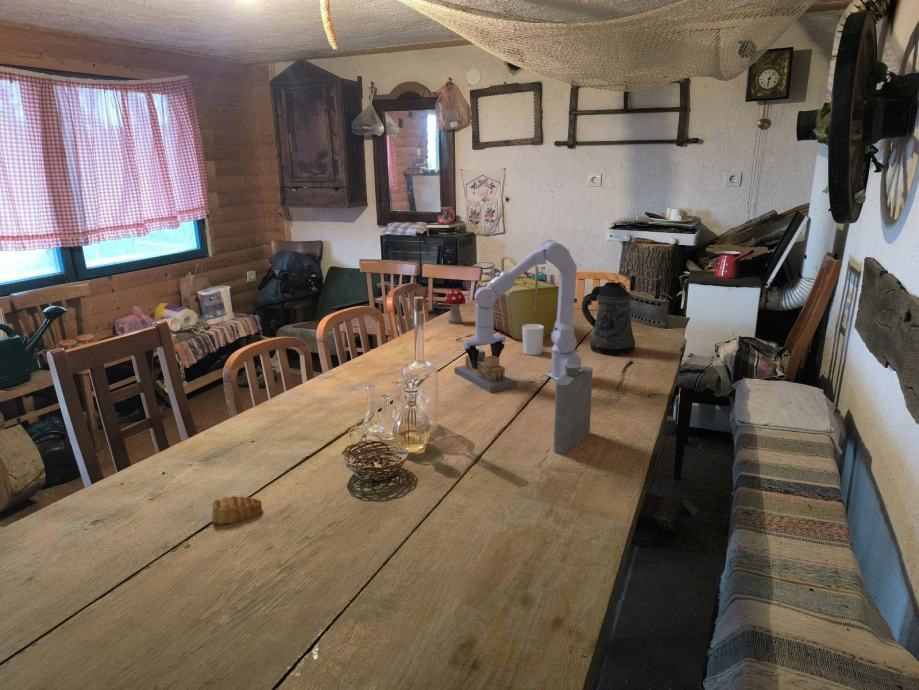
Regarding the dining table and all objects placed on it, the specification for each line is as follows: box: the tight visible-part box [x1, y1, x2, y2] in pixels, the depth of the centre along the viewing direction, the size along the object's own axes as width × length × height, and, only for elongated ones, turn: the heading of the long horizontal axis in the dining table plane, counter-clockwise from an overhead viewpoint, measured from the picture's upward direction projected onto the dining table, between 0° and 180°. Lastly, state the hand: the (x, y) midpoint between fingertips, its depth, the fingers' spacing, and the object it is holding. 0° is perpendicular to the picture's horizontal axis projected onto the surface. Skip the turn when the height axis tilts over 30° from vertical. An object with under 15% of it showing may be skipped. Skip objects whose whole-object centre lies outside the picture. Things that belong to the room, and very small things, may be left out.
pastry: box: [211, 495, 263, 525], centre depth 122 cm, size 9×7×4 cm
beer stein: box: [581, 281, 636, 357], centre depth 226 cm, size 16×19×25 cm
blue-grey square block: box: [477, 348, 486, 360], centre depth 200 cm, size 4×4×2 cm
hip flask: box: [553, 363, 594, 455], centre depth 150 cm, size 16×4×20 cm, turn 144°
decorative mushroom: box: [443, 288, 467, 325], centre depth 271 cm, size 10×9×15 cm
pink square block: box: [484, 354, 500, 367], centre depth 193 cm, size 4×4×2 cm
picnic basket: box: [475, 256, 559, 340], centre depth 254 cm, size 29×26×30 cm
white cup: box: [522, 324, 544, 356], centre depth 225 cm, size 8×8×10 cm
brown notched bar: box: [465, 355, 506, 382], centre depth 198 cm, size 17×4×4 cm, turn 30°
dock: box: [454, 364, 518, 393], centre depth 198 cm, size 22×10×2 cm, turn 30°
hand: (484, 366), depth 197 cm, fingers open, 7 cm apart
